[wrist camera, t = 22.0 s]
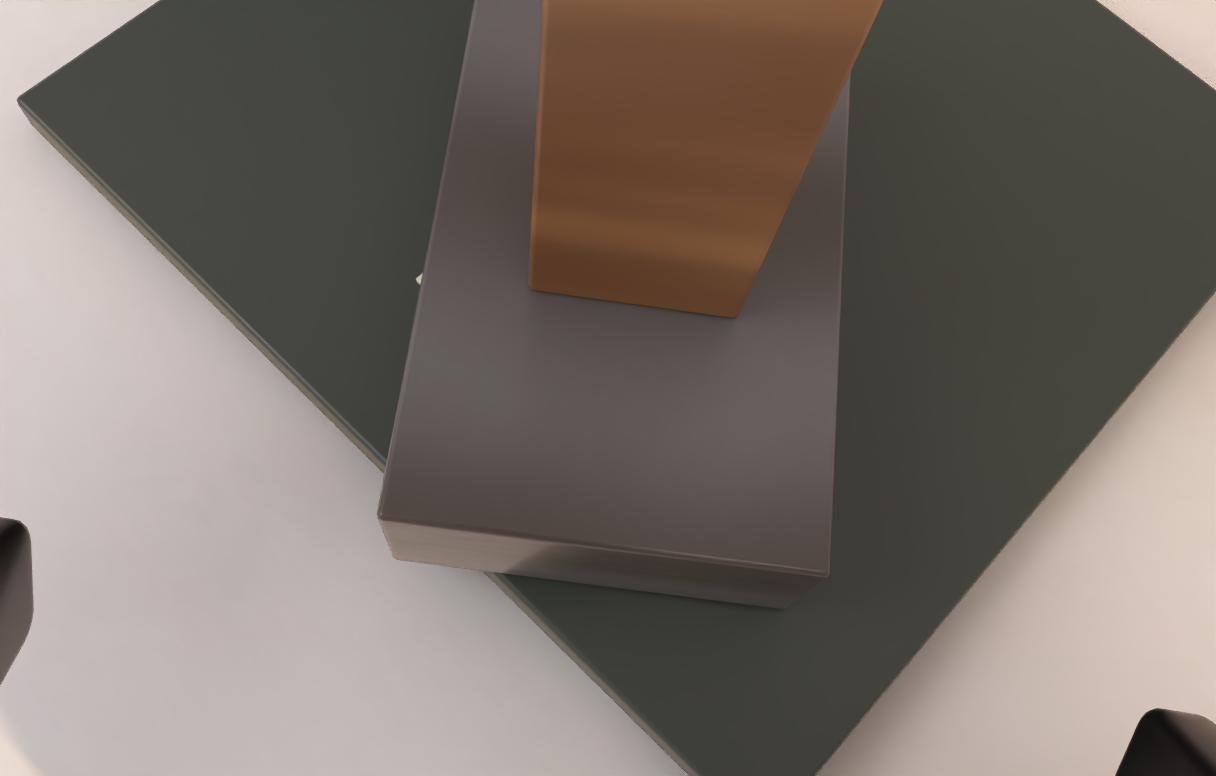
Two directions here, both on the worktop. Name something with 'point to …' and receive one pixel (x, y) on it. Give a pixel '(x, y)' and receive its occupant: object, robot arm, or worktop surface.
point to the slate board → (870, 303)
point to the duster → (634, 300)
